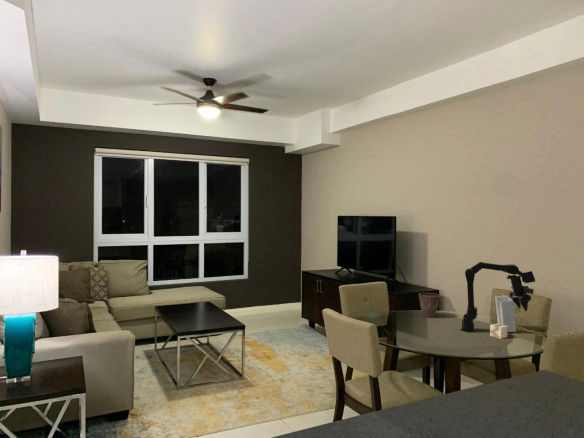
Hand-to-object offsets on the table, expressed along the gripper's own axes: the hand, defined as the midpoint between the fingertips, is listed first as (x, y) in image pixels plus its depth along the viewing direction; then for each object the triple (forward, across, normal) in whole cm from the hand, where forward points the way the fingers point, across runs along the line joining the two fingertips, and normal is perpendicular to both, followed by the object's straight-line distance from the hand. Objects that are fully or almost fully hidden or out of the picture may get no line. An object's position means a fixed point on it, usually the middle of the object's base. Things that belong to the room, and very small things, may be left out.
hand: (523, 309), depth 277 cm
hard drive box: (+14, +14, +7) cm, 21 cm away
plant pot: (+3, +44, +49) cm, 66 cm away
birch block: (+12, -3, +19) cm, 23 cm away
